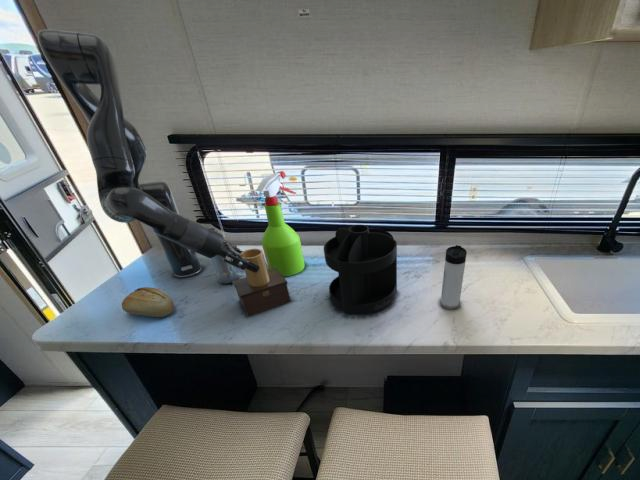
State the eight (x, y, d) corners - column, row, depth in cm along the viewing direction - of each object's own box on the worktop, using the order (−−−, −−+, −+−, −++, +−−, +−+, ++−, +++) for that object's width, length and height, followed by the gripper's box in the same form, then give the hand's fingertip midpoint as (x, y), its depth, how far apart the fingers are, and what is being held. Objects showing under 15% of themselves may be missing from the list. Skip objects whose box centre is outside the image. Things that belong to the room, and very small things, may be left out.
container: (317, 309, 102) (304, 238, 88) (350, 275, 120) (343, 211, 105) (379, 324, 96) (376, 251, 82) (404, 286, 114) (405, 220, 99)
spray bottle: (319, 260, 130) (305, 171, 109) (287, 280, 117) (264, 183, 96) (294, 252, 135) (276, 166, 115) (261, 271, 122) (234, 177, 102)
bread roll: (141, 302, 105) (130, 281, 100) (184, 304, 104) (174, 284, 99) (118, 320, 97) (104, 299, 92) (164, 323, 96) (153, 301, 91)
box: (239, 301, 105) (231, 281, 101) (281, 287, 112) (276, 268, 108) (247, 317, 99) (240, 296, 94) (292, 301, 106) (287, 281, 101)
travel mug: (460, 299, 107) (468, 246, 96) (457, 310, 102) (465, 256, 91) (442, 296, 109) (448, 243, 97) (438, 306, 104) (444, 252, 92)
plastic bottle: (231, 286, 113) (212, 234, 101) (214, 284, 114) (194, 232, 102) (242, 277, 118) (225, 227, 106) (226, 275, 119) (208, 225, 107)
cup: (246, 280, 101) (237, 252, 96) (266, 274, 104) (258, 246, 99) (252, 288, 97) (242, 260, 91) (272, 282, 100) (265, 254, 94)
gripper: (212, 236, 80) (267, 263, 92) (201, 219, 89) (253, 245, 102) (196, 260, 81) (254, 284, 93) (188, 241, 90) (241, 264, 102)
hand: (253, 264), depth 97 cm, fingers open, 8 cm apart
